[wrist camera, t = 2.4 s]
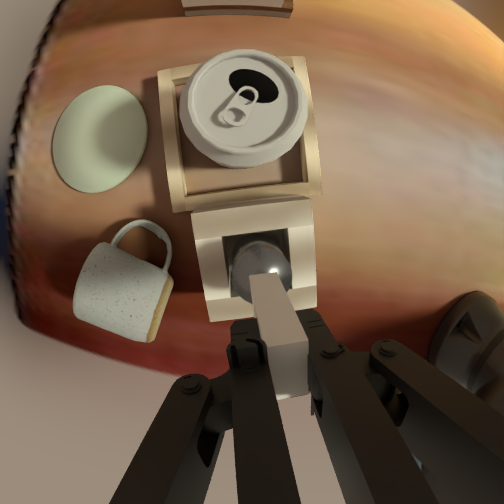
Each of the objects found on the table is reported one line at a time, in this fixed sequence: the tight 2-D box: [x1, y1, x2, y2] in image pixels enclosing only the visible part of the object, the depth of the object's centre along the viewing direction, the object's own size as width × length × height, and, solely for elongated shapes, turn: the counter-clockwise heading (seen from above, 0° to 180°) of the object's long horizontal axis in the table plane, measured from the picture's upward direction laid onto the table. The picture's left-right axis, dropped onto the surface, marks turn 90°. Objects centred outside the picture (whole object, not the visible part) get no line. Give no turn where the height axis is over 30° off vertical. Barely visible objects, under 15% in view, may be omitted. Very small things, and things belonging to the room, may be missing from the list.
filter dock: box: [158, 56, 322, 322], centre depth 23 cm, size 22×13×6 cm, turn 7°
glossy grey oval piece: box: [232, 233, 292, 304], centre depth 21 cm, size 4×4×5 cm
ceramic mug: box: [73, 219, 174, 342], centre depth 24 cm, size 11×8×8 cm
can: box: [179, 49, 308, 169], centre depth 18 cm, size 8×8×12 cm
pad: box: [53, 86, 148, 193], centre depth 23 cm, size 11×11×1 cm
